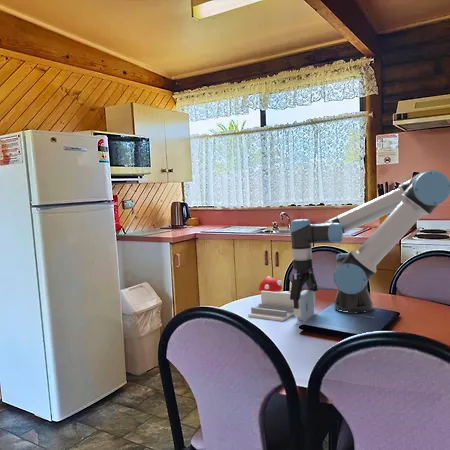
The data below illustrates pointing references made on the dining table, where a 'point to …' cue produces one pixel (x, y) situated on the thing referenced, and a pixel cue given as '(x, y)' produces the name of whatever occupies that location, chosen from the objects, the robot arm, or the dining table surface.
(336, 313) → the dining table surface
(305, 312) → the door
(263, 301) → the track
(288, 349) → the dining table surface
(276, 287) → the mushroom
